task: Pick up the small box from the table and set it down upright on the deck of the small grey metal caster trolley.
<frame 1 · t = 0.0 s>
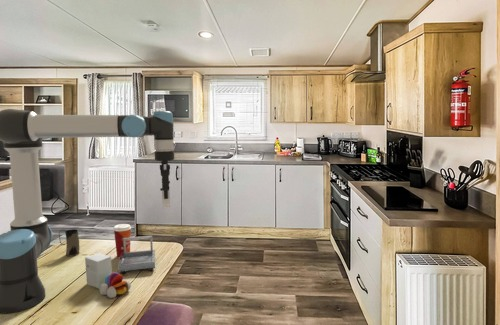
hand: (165, 203, 137), 28 cm above the table, fingers open, 13 cm apart
paper cup: (123, 256, 155), on the table
rainbow segmented toy: (115, 293, 121), on the table
trolley: (137, 266, 144), on the table
small box: (99, 284, 128), on the table
mug: (70, 254, 157), on the table
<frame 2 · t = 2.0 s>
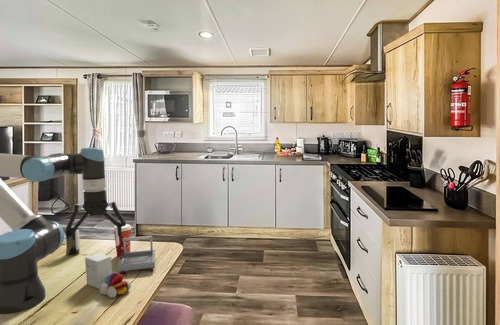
hand: (98, 246, 126), 15 cm above the table, fingers open, 13 cm apart
nothing on the table moved.
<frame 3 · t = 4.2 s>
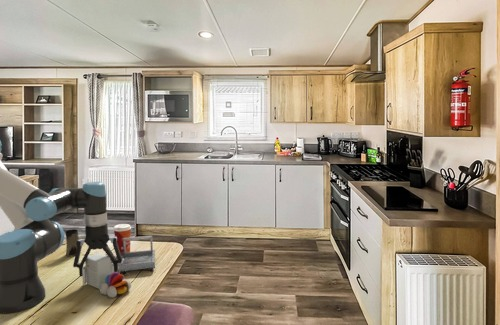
hand: (99, 282, 128), 1 cm above the table, fingers closed on small box, 9 cm apart
small box: (99, 284, 128), on the table, touching gripper
everything else where it was.
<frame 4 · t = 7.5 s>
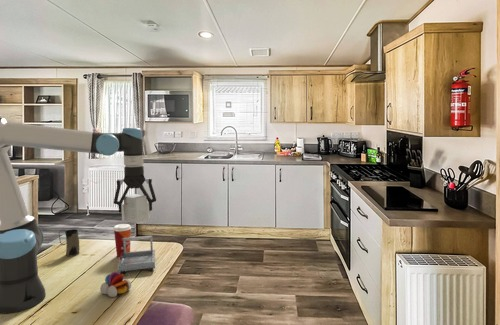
hand: (136, 219, 141), 20 cm above the table, fingers closed on small box, 9 cm apart
small box: (136, 221, 141), point 20 cm above the table, touching gripper
everything else where it was.
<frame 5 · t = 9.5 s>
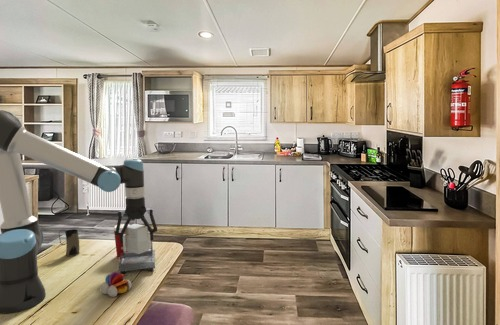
hand: (137, 249, 143), 7 cm above the table, fingers closed on small box, 9 cm apart
small box: (137, 251, 143), point 7 cm above the table, touching gripper
everything else where it was.
when the fingers open (5 cm above the table, at t = 11.1 s): small box drops 2 cm, resting on trolley.
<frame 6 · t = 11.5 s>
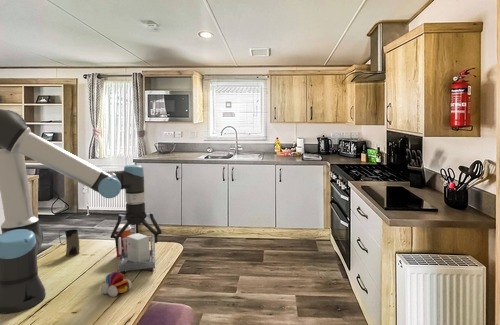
hand: (137, 252, 143), 6 cm above the table, fingers open, 13 cm apart
small box: (138, 260, 143), point 2 cm above the table, touching trolley
everything else where it was.
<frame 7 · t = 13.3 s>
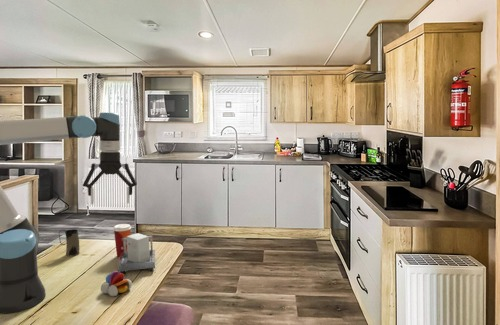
hand: (110, 203, 139), 28 cm above the table, fingers open, 13 cm apart
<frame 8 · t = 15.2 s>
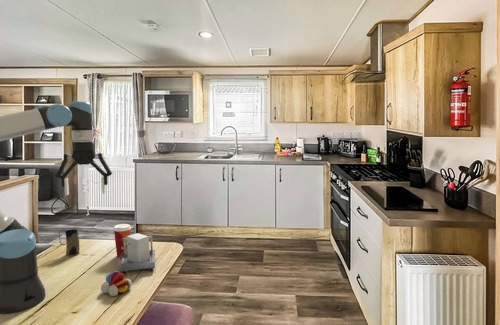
hand: (85, 193, 137), 32 cm above the table, fingers open, 13 cm apart
at the end: small box inside the target area on the trolley (0.5 cm from its centre), point 2.3 cm above the trolley's base; small box tilted 0°; the gripper is holding nothing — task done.
